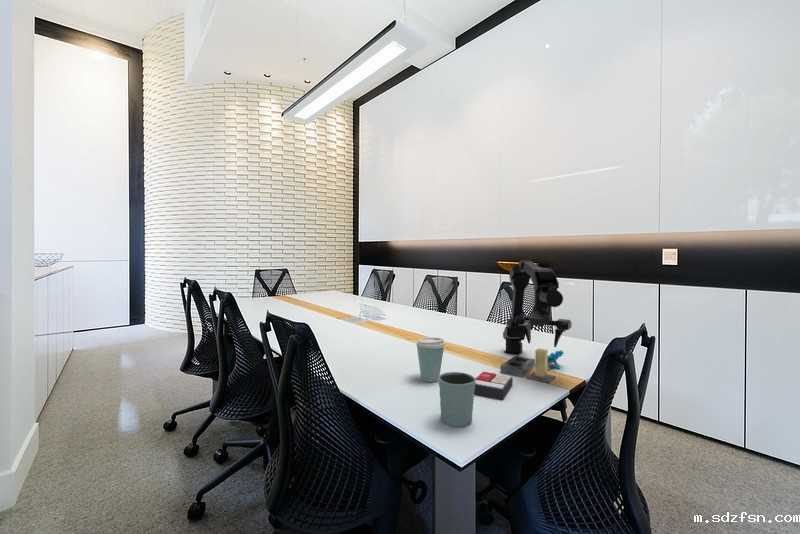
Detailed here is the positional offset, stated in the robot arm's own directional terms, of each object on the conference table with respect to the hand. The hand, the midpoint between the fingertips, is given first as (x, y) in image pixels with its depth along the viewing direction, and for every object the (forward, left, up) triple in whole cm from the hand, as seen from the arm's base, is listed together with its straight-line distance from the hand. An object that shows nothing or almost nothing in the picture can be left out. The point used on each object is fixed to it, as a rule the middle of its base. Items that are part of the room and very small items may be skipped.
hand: (541, 345), depth 131 cm
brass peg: (0, 0, -12) cm, 12 cm away
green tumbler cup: (-9, -48, -13) cm, 50 cm away
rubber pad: (0, 0, -12) cm, 12 cm away
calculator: (-10, -21, -13) cm, 27 cm away
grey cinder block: (-10, +4, -12) cm, 16 cm away
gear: (-1, +15, -13) cm, 20 cm away
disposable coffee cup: (-32, -26, -13) cm, 43 cm away
